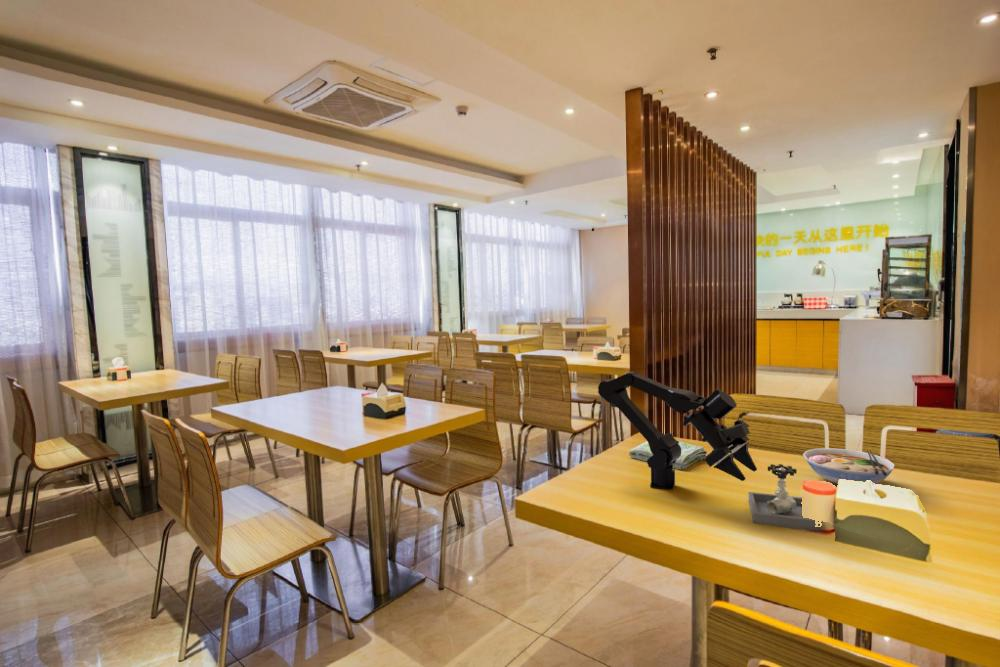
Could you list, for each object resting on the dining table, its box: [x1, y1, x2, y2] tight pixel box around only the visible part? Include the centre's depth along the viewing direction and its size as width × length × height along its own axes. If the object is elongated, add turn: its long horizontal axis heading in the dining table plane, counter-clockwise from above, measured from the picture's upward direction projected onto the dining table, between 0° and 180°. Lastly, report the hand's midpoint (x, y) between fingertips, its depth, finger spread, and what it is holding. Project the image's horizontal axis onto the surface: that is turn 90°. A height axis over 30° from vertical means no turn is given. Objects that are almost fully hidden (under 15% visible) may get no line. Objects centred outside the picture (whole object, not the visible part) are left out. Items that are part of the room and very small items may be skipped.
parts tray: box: [747, 491, 824, 532], centre depth 133 cm, size 15×15×2 cm
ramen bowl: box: [802, 447, 896, 485], centre depth 153 cm, size 25×23×8 cm
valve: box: [767, 463, 798, 514], centre depth 132 cm, size 7×7×12 cm
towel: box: [628, 439, 708, 470], centre depth 182 cm, size 18×21×5 cm
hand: (750, 475), depth 138 cm, fingers open, 9 cm apart
